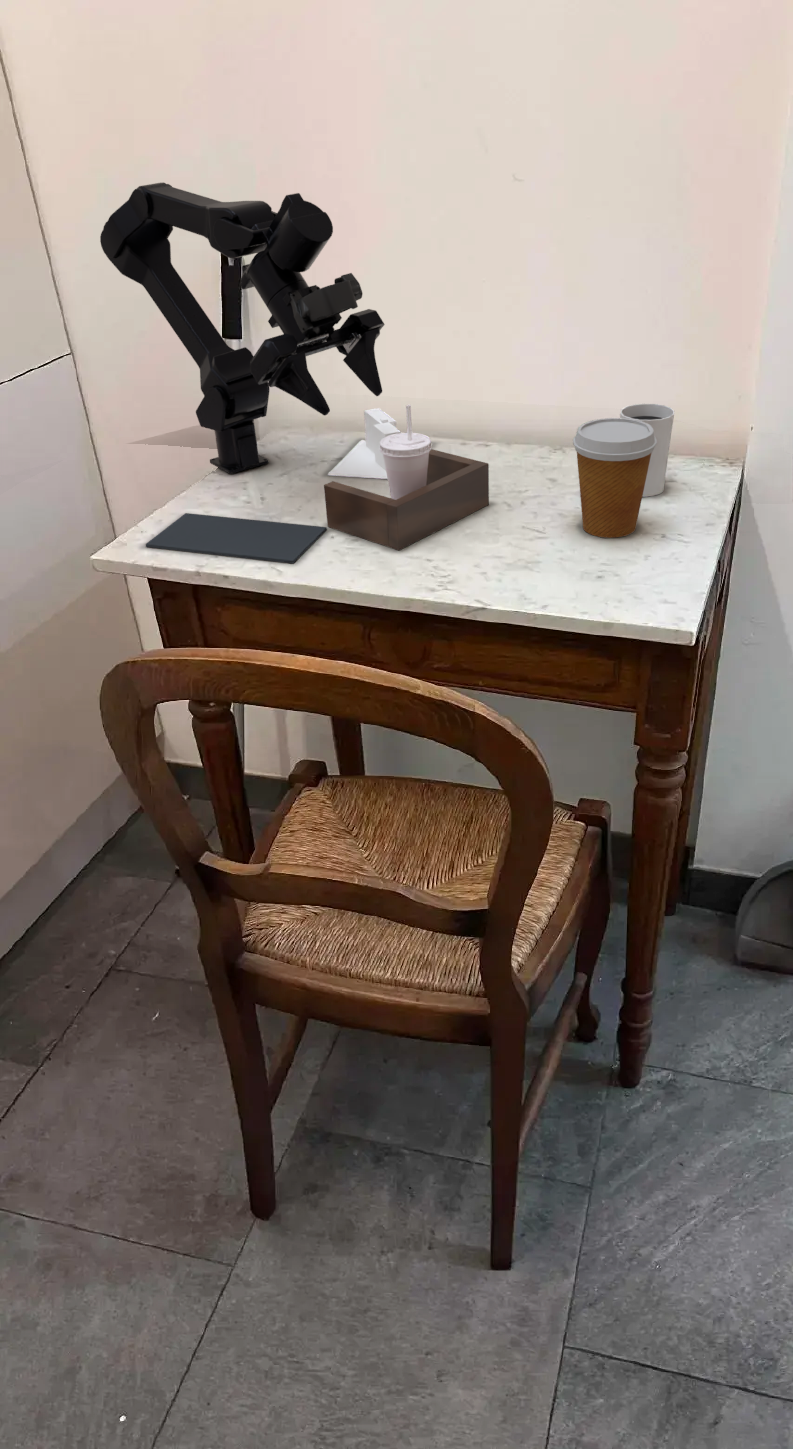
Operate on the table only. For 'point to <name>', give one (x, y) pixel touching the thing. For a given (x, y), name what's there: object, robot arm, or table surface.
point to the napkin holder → (368, 448)
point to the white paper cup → (662, 428)
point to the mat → (237, 537)
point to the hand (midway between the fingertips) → (354, 403)
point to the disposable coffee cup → (612, 473)
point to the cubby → (411, 503)
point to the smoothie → (406, 460)
